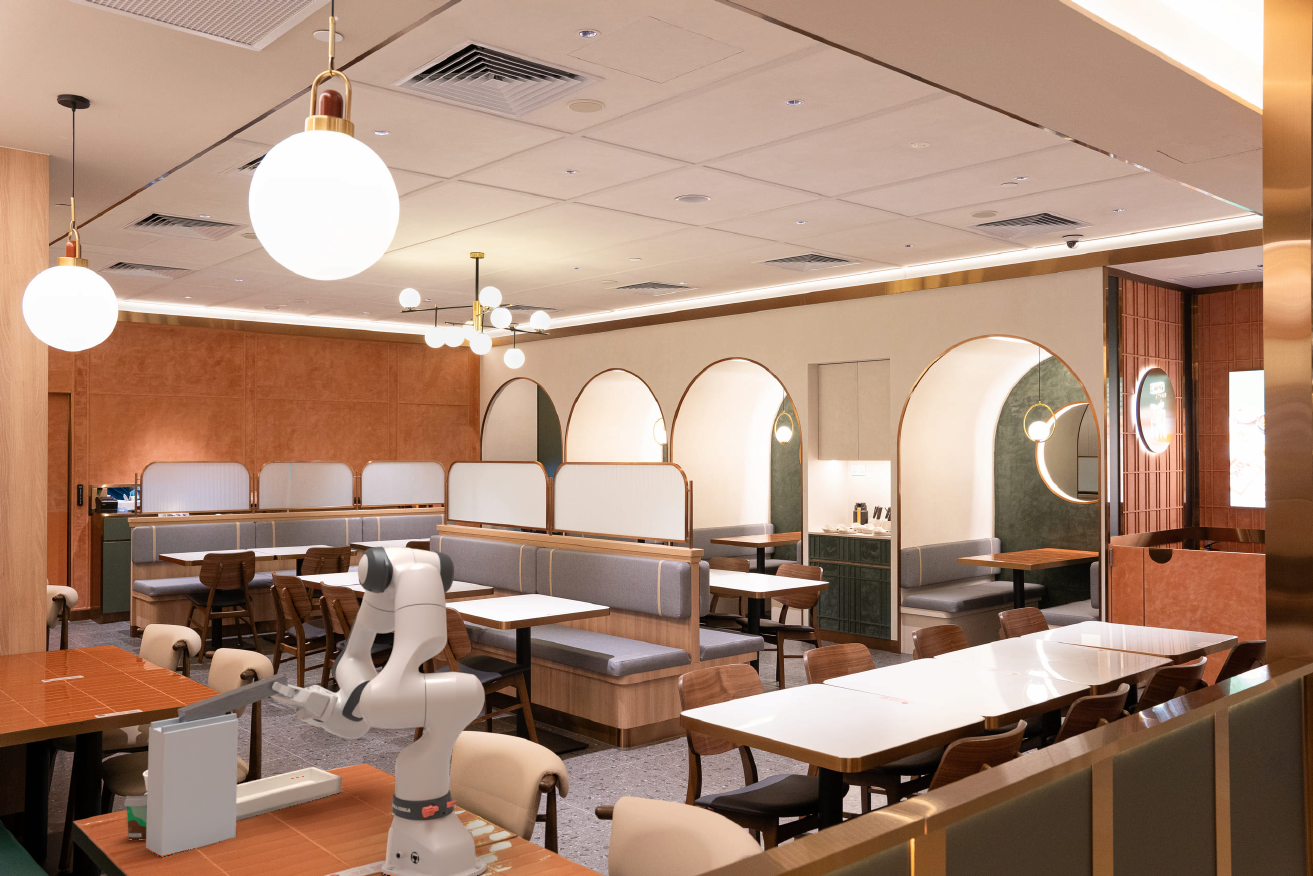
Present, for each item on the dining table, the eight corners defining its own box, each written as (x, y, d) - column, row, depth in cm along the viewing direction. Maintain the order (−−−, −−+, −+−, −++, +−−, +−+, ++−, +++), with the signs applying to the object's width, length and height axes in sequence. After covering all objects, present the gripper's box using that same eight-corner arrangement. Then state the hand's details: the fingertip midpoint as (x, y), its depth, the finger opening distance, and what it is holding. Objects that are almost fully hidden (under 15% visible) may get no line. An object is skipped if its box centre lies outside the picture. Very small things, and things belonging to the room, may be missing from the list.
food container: (144, 846, 212) (145, 799, 213) (122, 842, 214) (124, 796, 215) (188, 827, 224) (189, 783, 224) (167, 824, 226) (168, 780, 226)
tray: (341, 793, 249) (341, 777, 249) (221, 825, 225) (221, 807, 226) (312, 782, 258) (313, 766, 258) (194, 811, 234) (195, 794, 235)
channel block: (235, 837, 218) (238, 714, 219) (161, 857, 206) (164, 728, 207) (219, 828, 223) (221, 709, 224) (145, 848, 211) (149, 721, 212)
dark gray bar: (288, 689, 231) (286, 675, 230) (187, 726, 212) (184, 711, 212) (281, 687, 233) (278, 673, 232) (180, 724, 215) (177, 709, 214)
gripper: (297, 686, 245) (252, 665, 236) (342, 698, 232) (296, 676, 223) (285, 710, 243) (239, 690, 234) (329, 723, 229) (282, 702, 221)
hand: (267, 683), depth 228 cm, fingers closed on dark gray bar, 3 cm apart
